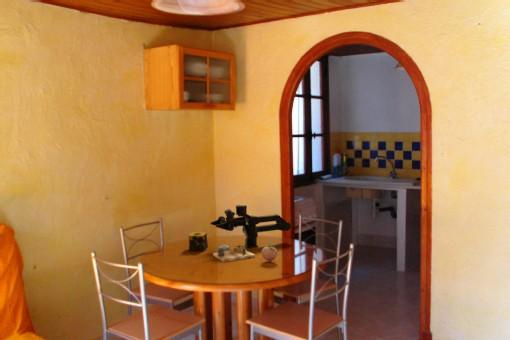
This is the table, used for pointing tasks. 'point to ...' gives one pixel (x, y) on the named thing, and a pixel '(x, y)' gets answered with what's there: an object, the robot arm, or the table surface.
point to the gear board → (232, 255)
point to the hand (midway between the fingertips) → (213, 224)
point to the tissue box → (198, 241)
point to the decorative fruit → (269, 253)
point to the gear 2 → (238, 249)
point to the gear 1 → (224, 247)
